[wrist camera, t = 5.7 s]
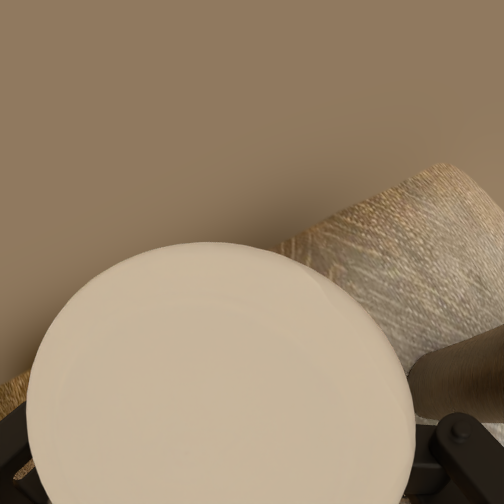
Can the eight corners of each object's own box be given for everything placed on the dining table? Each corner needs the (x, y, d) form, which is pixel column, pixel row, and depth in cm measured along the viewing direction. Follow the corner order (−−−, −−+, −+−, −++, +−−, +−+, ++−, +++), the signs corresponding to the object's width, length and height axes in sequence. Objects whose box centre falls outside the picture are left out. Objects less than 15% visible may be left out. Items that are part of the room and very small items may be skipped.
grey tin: (392, 394, 14) (520, 382, 5) (431, 338, 15) (553, 271, 6) (436, 431, 12) (568, 439, 3) (471, 375, 13) (599, 337, 4)
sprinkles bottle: (210, 364, 15) (18, 259, 3) (296, 351, 15) (371, 197, 3) (221, 446, 13) (55, 576, 1) (309, 434, 13) (434, 571, 1)
